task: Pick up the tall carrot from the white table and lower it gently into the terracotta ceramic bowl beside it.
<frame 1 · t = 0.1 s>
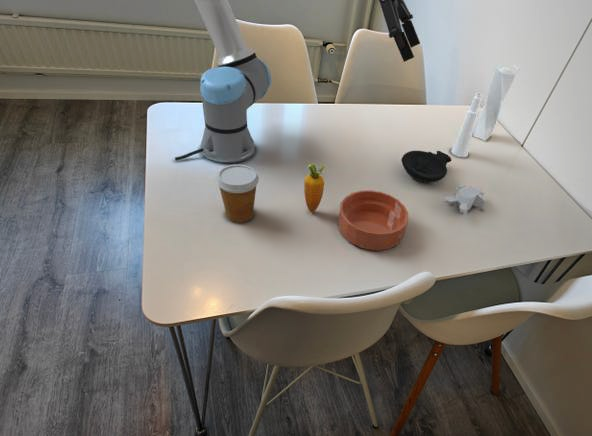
hand: (412, 52, 106), 36 cm above the table, tool tilted 35°, fingers open, 13 cm apart
carrot: (311, 213, 105), on the table
bowl: (370, 228, 104), on the table
cosmetic bottle: (459, 153, 143), on the table
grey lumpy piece: (463, 205, 118), on the table
skyscraper: (481, 136, 157), on the table
disposable coffee cup: (239, 214, 100), on the table
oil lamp: (426, 174, 129), on the table
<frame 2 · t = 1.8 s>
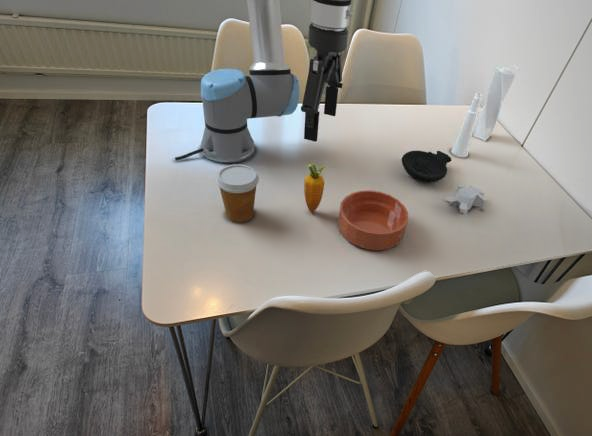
hand: (320, 126, 90), 25 cm above the table, tool pointing down, fingers open, 13 cm apart
nothing on the table moved.
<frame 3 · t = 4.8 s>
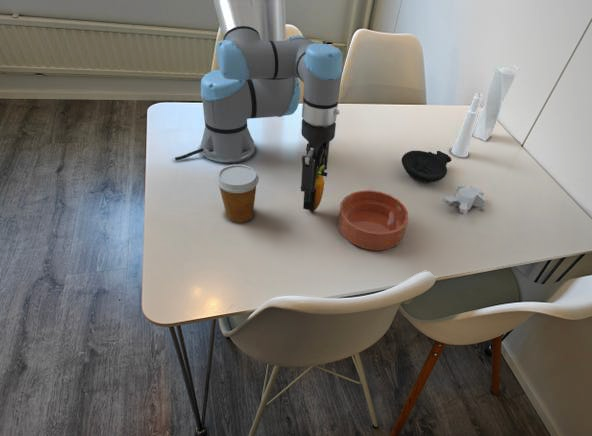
hand: (312, 202, 103), 3 cm above the table, tool pointing down, fingers closed on carrot, 5 cm apart
carrot: (311, 213, 105), on the table, touching gripper
everything else where it was.
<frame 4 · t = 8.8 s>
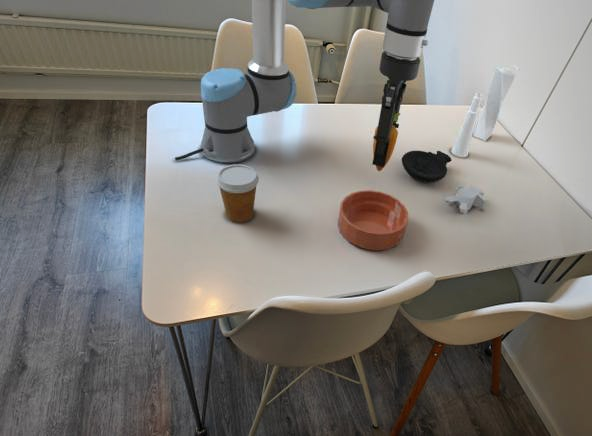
hand: (381, 159, 91), 21 cm above the table, tool pointing down, fingers closed on carrot, 5 cm apart
carrot: (378, 171, 93), point 17 cm above the table, touching gripper
everything else where it was.
when the fingers open (4 cm above the table, at t = 12.8 s): carrot stays where it is, resting on bowl.
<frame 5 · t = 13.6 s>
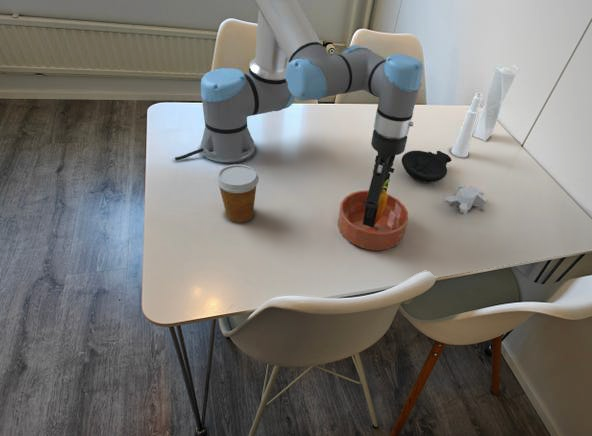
hand: (374, 208, 99), 7 cm above the table, tool pointing down, fingers open, 13 cm apart
carrot: (371, 227, 103), point 1 cm above the table, touching bowl
everything else where it was.
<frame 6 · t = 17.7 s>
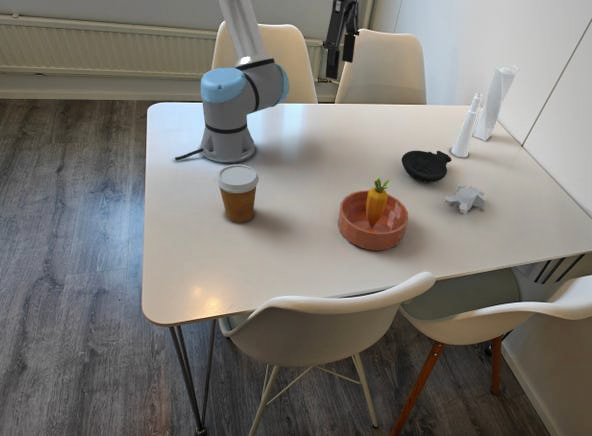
hand: (339, 69, 100), 32 cm above the table, tool pointing down, fingers open, 13 cm apart
nothing on the table moved.
at the end: carrot 0.0 cm from the bowl (horizontally); carrot point 0.6 cm above the table; the gripper is holding nothing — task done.
